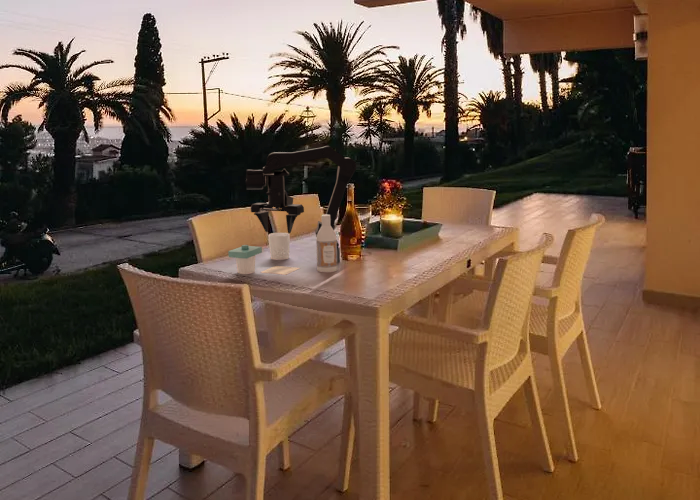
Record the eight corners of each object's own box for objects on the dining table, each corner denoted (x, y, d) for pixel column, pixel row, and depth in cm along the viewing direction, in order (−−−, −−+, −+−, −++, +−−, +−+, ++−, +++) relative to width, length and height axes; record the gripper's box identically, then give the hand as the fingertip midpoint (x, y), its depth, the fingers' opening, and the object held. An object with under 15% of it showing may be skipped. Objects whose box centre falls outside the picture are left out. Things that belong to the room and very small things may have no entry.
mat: (300, 270, 210) (300, 268, 210) (286, 277, 201) (286, 274, 201) (275, 268, 214) (275, 265, 214) (260, 275, 205) (260, 272, 205)
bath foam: (319, 275, 203) (317, 217, 199) (315, 270, 210) (314, 214, 205) (339, 274, 205) (338, 215, 200) (335, 269, 211) (333, 213, 207)
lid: (261, 252, 208) (261, 243, 207) (246, 258, 199) (246, 249, 198) (244, 251, 211) (244, 242, 210) (228, 257, 202) (228, 247, 201)
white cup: (286, 263, 222) (285, 236, 220) (266, 262, 224) (265, 236, 222) (293, 258, 230) (292, 232, 228) (273, 257, 231) (272, 232, 229)
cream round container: (260, 273, 208) (259, 253, 206) (249, 278, 202) (248, 257, 200) (243, 271, 211) (242, 252, 209) (232, 276, 204) (231, 256, 203)
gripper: (310, 187, 214) (311, 230, 218) (265, 185, 222) (267, 227, 225) (295, 190, 204) (297, 235, 208) (248, 188, 212) (251, 232, 215)
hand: (278, 232), depth 214 cm, fingers open, 9 cm apart
